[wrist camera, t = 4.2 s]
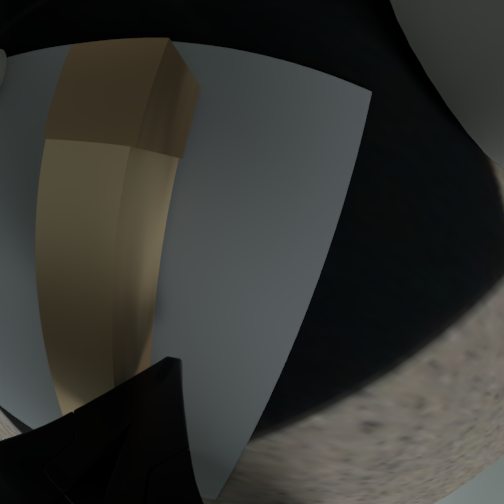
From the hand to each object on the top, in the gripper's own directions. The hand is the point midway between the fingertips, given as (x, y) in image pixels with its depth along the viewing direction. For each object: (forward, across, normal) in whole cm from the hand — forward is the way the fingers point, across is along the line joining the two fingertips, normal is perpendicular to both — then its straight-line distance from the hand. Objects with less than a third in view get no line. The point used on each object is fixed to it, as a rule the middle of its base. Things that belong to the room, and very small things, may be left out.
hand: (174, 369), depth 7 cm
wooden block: (+1, +2, -1) cm, 3 cm away
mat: (+1, +9, 0) cm, 10 cm away
